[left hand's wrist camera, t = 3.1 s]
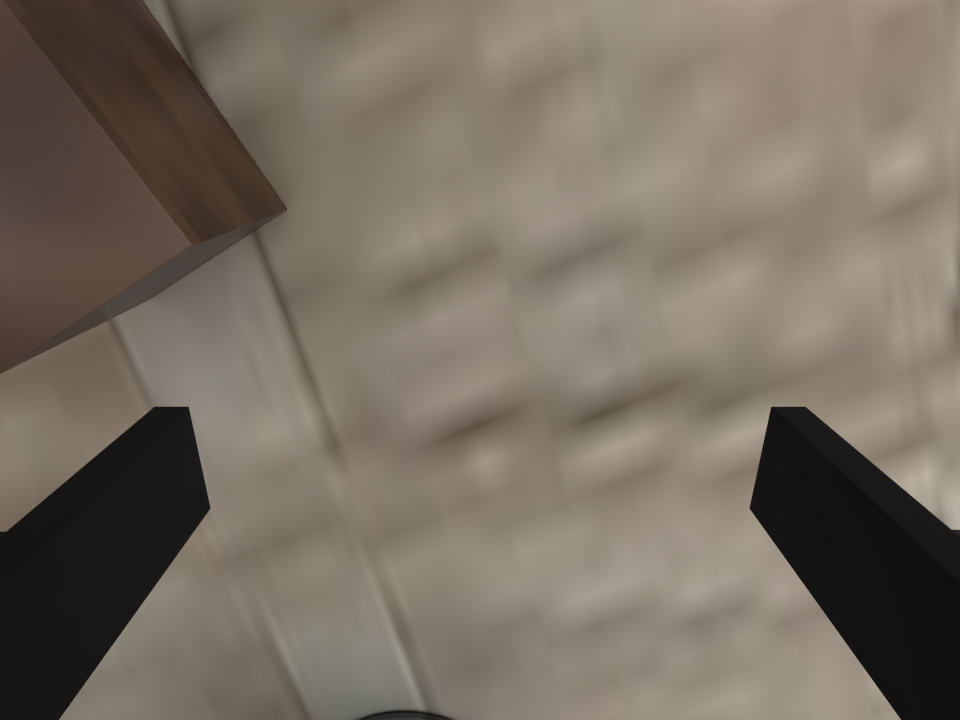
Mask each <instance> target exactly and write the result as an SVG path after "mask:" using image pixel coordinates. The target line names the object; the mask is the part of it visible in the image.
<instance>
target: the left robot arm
mask: <svg viewBox="0 0 960 720" xmlns="http://www.w3.org/2000/svg"><path fill="white" fill-rule="evenodd" d="M209 510H210V504H209V500H208V495H207V490H206V486H205V481H204V476H203V472H202V467H201V462H200V458H199V453H198V448H197V444H196V439H195V434H194V430H193V425H192V420H191V416H190V411H189V407H154V408H153V409H151V410H150V411H149V412H148V413H147V414H145V415H144V416H143V417H142V418H141V419H140V420H138V421H137V422H136V423H135V424H134V425H132V426H131V427H130V428H129V429H128V430H127V431H125V432H124V433H123V434H122V435H121V436H119V437H118V438H117V439H116V440H115V441H113V442H112V443H111V444H110V445H109V446H108V447H106V448H105V449H104V450H103V451H102V452H100V453H99V454H98V455H97V456H96V457H94V458H93V459H92V460H91V461H90V462H89V463H87V464H86V465H85V466H84V467H83V468H81V469H80V470H79V471H78V472H77V473H75V474H74V475H73V476H72V477H71V478H70V479H68V480H67V481H66V482H65V483H64V484H62V485H61V486H60V487H59V488H58V489H56V490H55V491H54V492H53V493H52V494H51V495H49V496H48V497H47V498H46V499H45V500H43V501H42V502H41V503H40V504H39V505H37V506H36V507H35V508H34V509H33V510H32V511H30V512H29V513H28V514H27V515H26V516H24V517H23V518H22V519H21V520H20V521H19V522H17V523H16V524H15V525H14V526H13V527H11V528H10V529H9V530H8V531H7V532H0V720H59V719H60V717H61V716H62V715H63V713H64V712H65V710H66V709H67V708H68V706H69V705H70V703H71V702H72V701H73V699H74V698H75V696H76V695H77V694H78V692H79V691H80V689H81V688H82V687H83V685H84V684H85V682H86V681H87V680H88V678H89V677H90V676H91V674H92V673H93V671H94V670H95V669H96V667H97V666H98V664H99V663H100V662H101V660H102V659H103V657H104V656H105V655H106V653H107V652H108V650H109V649H110V648H111V646H112V645H113V643H114V642H115V641H116V639H117V638H118V636H119V635H120V634H121V632H122V631H123V630H124V628H125V627H126V625H127V624H128V623H129V621H130V620H131V618H132V617H133V616H134V614H135V613H136V611H137V610H138V609H139V607H140V606H141V604H142V603H143V602H144V600H145V599H146V597H147V596H148V595H149V593H150V592H151V591H152V589H153V588H154V586H155V585H156V584H157V582H158V581H159V579H160V578H161V577H162V575H163V574H164V572H165V571H166V570H167V568H168V567H169V565H170V564H171V563H172V561H173V560H174V558H175V557H176V556H177V554H178V553H179V551H180V550H181V549H182V547H183V546H184V545H185V543H186V542H187V540H188V539H189V538H190V536H191V535H192V533H193V532H194V531H195V529H196V528H197V526H198V525H199V524H200V522H201V521H202V519H203V518H204V517H205V515H206V514H207V512H208V511H209ZM750 510H751V511H752V512H753V514H754V515H755V517H756V518H757V519H758V521H759V522H760V524H761V525H762V526H763V528H764V529H765V531H766V532H767V533H768V535H769V536H770V538H771V539H772V540H773V542H774V543H775V545H776V546H777V547H778V549H779V550H780V551H781V553H782V554H783V556H784V557H785V558H786V560H787V561H788V563H789V564H790V565H791V567H792V568H793V570H794V571H795V572H796V574H797V575H798V577H799V578H800V579H801V581H802V582H803V584H804V585H805V586H806V588H807V589H808V591H809V592H810V593H811V595H812V596H813V597H814V599H815V600H816V602H817V603H818V604H819V606H820V607H821V609H822V610H823V611H824V613H825V614H826V616H827V617H828V618H829V620H830V621H831V623H832V624H833V625H834V627H835V628H836V630H837V631H838V632H839V634H840V635H841V637H842V638H843V639H844V641H845V642H846V643H847V645H848V646H849V648H850V649H851V650H852V652H853V653H854V655H855V656H856V657H857V659H858V660H859V662H860V663H861V664H862V666H863V667H864V669H865V670H866V671H867V673H868V674H869V676H870V677H871V678H872V680H873V681H874V682H875V684H876V685H877V687H878V688H879V689H880V691H881V692H882V694H883V695H884V696H885V698H886V699H887V701H888V702H889V703H890V705H891V706H892V708H893V709H894V710H895V712H896V713H897V715H898V716H899V717H900V719H901V720H960V530H951V529H950V528H949V527H947V526H946V525H945V524H944V523H943V522H941V521H940V520H939V519H938V518H937V517H936V516H934V515H933V514H932V513H931V512H930V511H928V510H927V509H926V508H925V507H924V506H923V505H921V504H920V503H919V502H918V501H917V500H915V499H914V498H913V497H912V496H911V495H909V494H908V493H907V492H906V491H905V490H904V489H902V488H901V487H900V486H899V485H898V484H896V483H895V482H894V481H893V480H892V479H890V478H889V477H888V476H887V475H886V474H885V473H883V472H882V471H881V470H880V469H879V468H877V467H876V466H875V465H874V464H873V463H871V462H870V461H869V460H868V459H867V458H866V457H864V456H863V455H862V454H861V453H860V452H858V451H857V450H856V449H855V448H854V447H852V446H851V445H850V444H849V443H848V442H847V441H845V440H844V439H843V438H842V437H841V436H839V435H838V434H837V433H836V432H835V431H833V430H832V429H831V428H830V427H829V426H828V425H826V424H825V423H824V422H823V421H822V420H820V419H819V418H818V417H817V416H816V415H814V414H813V413H812V412H811V411H810V410H809V409H807V408H806V407H771V411H770V416H769V420H768V425H767V430H766V434H765V439H764V444H763V448H762V453H761V458H760V462H759V467H758V472H757V476H756V481H755V486H754V490H753V495H752V500H751V504H750ZM364 720H447V719H444V718H441V717H437V716H433V715H427V714H421V713H389V714H383V715H377V716H373V717H370V718H367V719H364Z"/></svg>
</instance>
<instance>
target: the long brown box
mask: <svg viewBox="0 0 960 720" xmlns="http://www.w3.org/2000/svg"><path fill="white" fill-rule="evenodd" d="M286 210H287V208H286V207H285V205H284V204H283V202H282V201H281V199H280V198H279V197H278V195H277V194H276V192H275V191H274V189H273V188H272V186H271V185H270V184H269V182H268V181H267V179H266V178H265V176H264V175H263V173H262V172H261V171H260V169H259V168H258V166H257V165H256V163H255V162H254V160H253V159H252V158H251V156H250V155H249V153H248V152H247V150H246V149H245V148H244V146H243V145H242V143H241V142H240V140H239V139H238V137H237V136H236V135H235V133H234V132H233V130H232V129H231V127H230V126H229V124H228V123H227V122H226V120H225V119H224V117H223V116H222V114H221V113H220V112H219V110H218V109H217V107H216V106H215V104H214V103H213V101H212V100H211V99H210V97H209V96H208V94H207V93H206V91H205V90H204V88H203V87H202V86H201V84H200V83H199V81H198V80H197V78H196V77H195V76H194V74H193V73H192V71H191V70H190V68H189V67H188V65H187V64H186V63H185V61H184V60H183V58H182V57H181V55H180V54H179V52H178V51H177V50H176V48H175V47H174V45H173V44H172V42H171V41H170V39H169V38H168V37H167V35H166V34H165V32H164V31H163V29H162V28H161V27H160V25H159V24H158V22H157V21H156V19H155V18H154V16H153V15H152V14H151V12H150V11H149V9H148V8H147V6H146V5H145V3H144V2H143V1H142V0H0V374H1V373H3V372H5V371H7V370H9V369H11V368H13V367H15V366H17V365H19V364H21V363H23V362H25V361H27V360H29V359H31V358H33V357H35V356H37V355H39V354H41V353H43V352H45V351H47V350H49V349H51V348H53V347H55V346H57V345H59V344H61V343H63V342H65V341H67V340H69V339H71V338H73V337H75V336H77V335H79V334H81V333H83V332H85V331H87V330H89V329H91V328H93V327H95V326H97V325H99V324H101V323H103V322H105V321H107V320H109V319H111V318H113V317H115V316H117V315H119V314H121V313H123V312H125V311H127V310H129V309H131V308H134V307H136V306H138V305H140V304H141V303H144V302H146V301H148V300H149V299H151V298H152V297H154V296H156V295H157V294H159V293H160V292H162V291H163V290H165V289H166V288H168V287H169V286H171V285H172V284H174V283H175V282H177V281H179V280H180V279H182V278H183V277H185V276H186V275H188V274H189V273H191V272H192V271H194V270H195V269H197V268H198V267H200V266H202V265H203V264H205V263H206V262H208V261H209V260H211V259H212V258H214V257H215V256H217V255H218V254H220V253H222V252H223V251H225V250H226V249H228V248H229V247H231V246H232V245H234V244H235V243H237V242H238V241H240V240H241V239H243V238H245V237H246V236H248V235H249V234H251V233H252V232H254V231H255V230H257V229H258V228H260V227H261V226H263V225H264V224H266V223H268V222H269V221H271V220H272V219H274V218H275V217H277V216H278V215H280V214H281V213H283V212H284V211H286Z"/></svg>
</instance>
